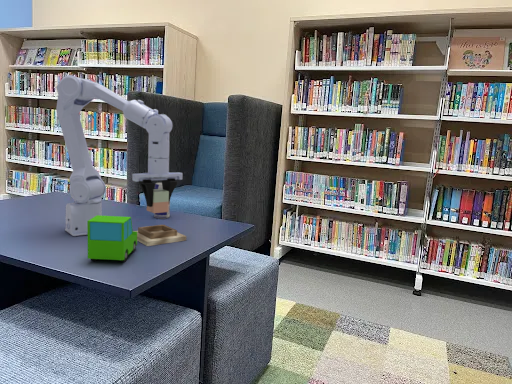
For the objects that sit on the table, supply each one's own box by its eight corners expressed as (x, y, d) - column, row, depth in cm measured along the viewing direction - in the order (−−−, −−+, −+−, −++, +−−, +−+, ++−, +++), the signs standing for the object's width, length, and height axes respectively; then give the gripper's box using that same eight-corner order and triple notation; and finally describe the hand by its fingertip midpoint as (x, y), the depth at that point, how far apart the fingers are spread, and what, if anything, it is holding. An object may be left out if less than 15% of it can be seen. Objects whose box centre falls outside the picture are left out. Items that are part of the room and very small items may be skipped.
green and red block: (153, 213, 114) (154, 192, 113) (146, 210, 117) (146, 189, 116) (168, 211, 117) (168, 191, 116) (160, 209, 120) (161, 188, 119)
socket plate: (147, 246, 109) (147, 236, 109) (128, 235, 118) (128, 226, 118) (186, 240, 117) (186, 231, 117) (166, 231, 126) (166, 222, 126)
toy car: (142, 248, 107) (142, 211, 106) (128, 265, 94) (128, 222, 93) (102, 246, 107) (102, 209, 105) (83, 263, 94) (82, 220, 92)
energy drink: (150, 217, 144) (151, 183, 142) (161, 214, 148) (161, 182, 146) (162, 219, 141) (163, 185, 139) (172, 217, 146) (173, 183, 144)
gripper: (140, 159, 107) (140, 210, 109) (188, 159, 116) (187, 205, 118) (129, 156, 112) (128, 205, 114) (176, 156, 122) (174, 201, 124)
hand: (157, 205), depth 117 cm, fingers closed on green and red block, 4 cm apart
